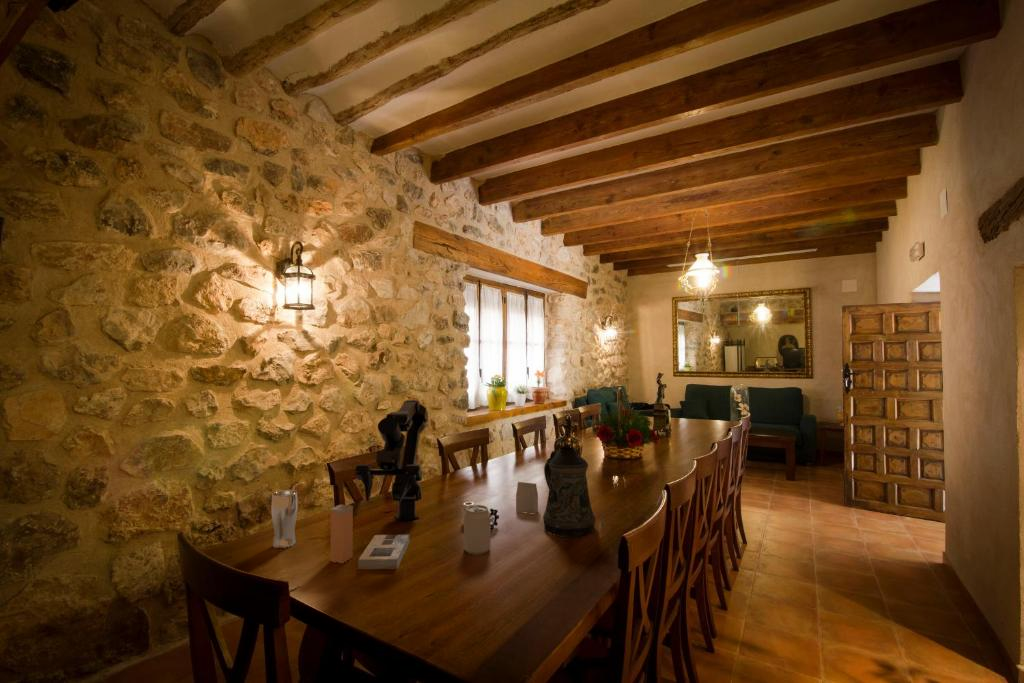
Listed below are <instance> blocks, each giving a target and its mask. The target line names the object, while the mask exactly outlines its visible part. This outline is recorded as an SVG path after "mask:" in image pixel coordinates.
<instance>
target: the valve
mask: <svg viewBox="0 0 1024 683" xmlns="http://www.w3.org/2000/svg"><path fill="white" fill-rule="evenodd" d="M472 505H475V502H471V501H466V502H463V505H462V512H461V513H462V514H461V515H462V519H463V521H462V524H464V513H465V512H466V511H467V510H466V508H467V507H469V506H472ZM489 512H490V529H491V530H490V531H494V530H495V526H498V525H499V523H498V521H497V520H498V519H499V518H500V515H498V513H499V511H498V509H495V508H490V509H489ZM491 523H492V524H491ZM493 529H494V530H493Z"/></svg>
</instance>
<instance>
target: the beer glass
mask: <svg viewBox="0 0 1024 683" xmlns="http://www.w3.org/2000/svg"><path fill="white" fill-rule="evenodd" d="M298 503H299V501H298V491H297V490H295V489H283V490H277V491H275V492H273V493H272V495H271V519H272V520H271V521H272V524H273V531H274V532H273V533H274V534H273V535H274V536H273V541H272V548H274V547H275V548H274V549H276V548H284V549H288V548H290V546H291V547H293V546H295V545H296V544H295V543H297V540H296V535H295V530H296V529H295V528H296V522H297V516H298V509H299V508H298V507H299V504H298ZM294 544H295V545H294ZM287 547H288V548H287Z"/></svg>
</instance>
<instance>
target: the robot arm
mask: <svg viewBox="0 0 1024 683" xmlns="http://www.w3.org/2000/svg"><path fill="white" fill-rule="evenodd" d="M403 401H404V402H403V405H402V406H401V407H400V408H399V409H398V410H397V411H392V412H389V413H387V414H386V417H383V418H382V419H381V420H380V421H379V422H378V424H377V430H378V432H379V434H380V436H381V438H382V441H384V444H383V445H384V446H383V448H382V450H376V451H375V453H376V454H375V463H377V467H379V468H372V465H371V464H368V463H367V464H366V463H364V464H363V463H358V464H357V465H356V466H355V468H354V472H353V473H354V475H355V476H356V478H357V480H358V481H361V483H362V484H363V486H364V492H365V493H364V494H365V499H366V500H365V501H366V503H368V502H369V501H370V499H371V495H372V494H371V493H372V488H373V483H374V481H373V479H374V476H377V477H378V476H382V477H383V476H387V477H388V476H390V477H392V476H394V481H393V483H392V486H391V494H392V501H393V502H398V503H397V504H398V509H397V514H394V517H395V518H396V519H398V521H399V522H407V521H412V520H417V518H418V519H420V515H418V514H417V513H416V510H417V509H416V505H417V504H416V502H419V501H420V500H422V490H421V485H420V483H419V482H421V481H422V479H423V471H422V468H421V466H420V465H419V464H417V457H418V451H419V444H420V435H421V433H422V432H423V431H424V430H425V428H426V424H427V423H428V420H429V414H428V410H427V407H425V406H424V405H423V404H421V403H420V401H419V400H418V399H406V400H403ZM404 432H406V436H405V434H403V433H404Z"/></svg>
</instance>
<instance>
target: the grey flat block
mask: <svg viewBox="0 0 1024 683" xmlns="http://www.w3.org/2000/svg"><path fill="white" fill-rule="evenodd" d="M409 544H410V534H375V535H374V536H373V537H372V539H371V541H370V542H369V544H368V545H367V546H366V548H365V549H364V550H363V552H362V553H361V555H360V556H359V558H358V561H357V562H358V567H357V568H358V570H396V569H398V568H399V567H400V564H401V562H402V560H403V557H404V556H403V555H405V553H406V551H407V549H408V547H409Z"/></svg>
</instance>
